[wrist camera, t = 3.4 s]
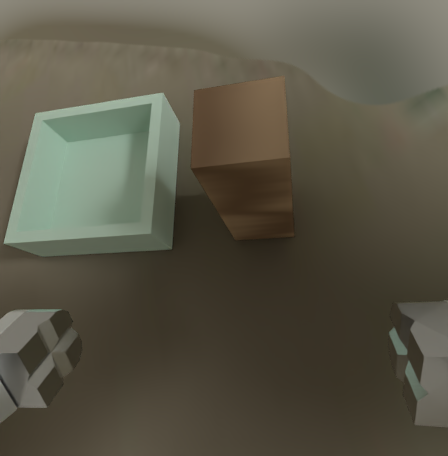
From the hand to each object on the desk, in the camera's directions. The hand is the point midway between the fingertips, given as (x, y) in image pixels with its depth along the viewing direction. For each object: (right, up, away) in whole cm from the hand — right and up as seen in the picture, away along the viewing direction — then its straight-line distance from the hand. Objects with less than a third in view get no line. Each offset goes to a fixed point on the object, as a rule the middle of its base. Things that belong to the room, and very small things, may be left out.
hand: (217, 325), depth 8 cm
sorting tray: (-9, +6, +18) cm, 21 cm away
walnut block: (+3, +4, +15) cm, 15 cm away
